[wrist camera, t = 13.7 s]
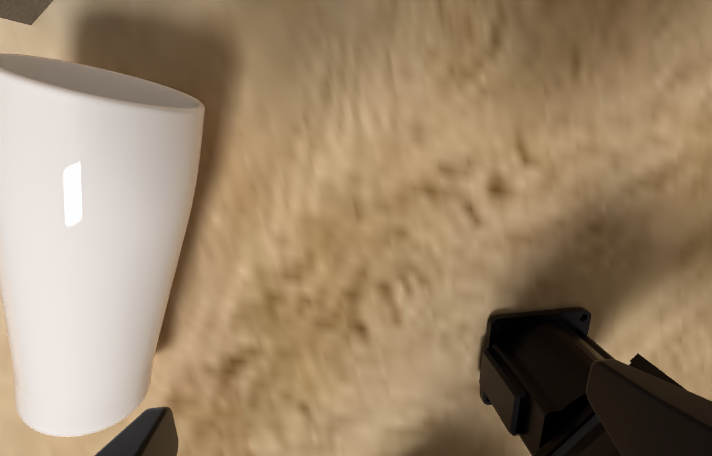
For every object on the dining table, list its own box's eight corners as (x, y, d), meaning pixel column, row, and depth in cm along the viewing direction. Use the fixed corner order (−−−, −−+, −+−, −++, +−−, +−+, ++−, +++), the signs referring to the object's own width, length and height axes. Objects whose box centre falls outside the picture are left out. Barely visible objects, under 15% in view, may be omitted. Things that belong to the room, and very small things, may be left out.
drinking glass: (43, 342, 21) (46, 51, 16) (177, 353, 23) (218, 98, 18) (-50, 459, 15) (-94, 49, 10) (143, 461, 17) (190, 121, 12)
